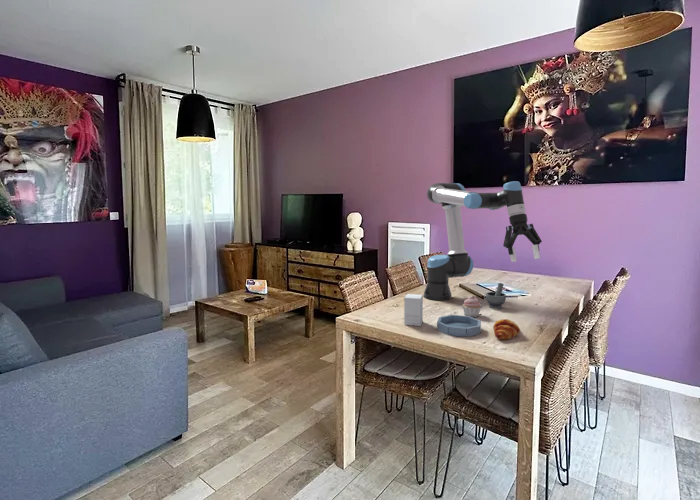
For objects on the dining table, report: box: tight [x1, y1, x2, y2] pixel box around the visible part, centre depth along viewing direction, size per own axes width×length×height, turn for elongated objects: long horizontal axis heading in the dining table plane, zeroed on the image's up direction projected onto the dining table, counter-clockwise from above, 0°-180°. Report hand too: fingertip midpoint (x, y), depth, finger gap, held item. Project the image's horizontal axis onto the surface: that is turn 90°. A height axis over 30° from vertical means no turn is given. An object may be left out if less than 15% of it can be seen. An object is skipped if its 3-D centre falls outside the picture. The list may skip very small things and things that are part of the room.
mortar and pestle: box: [485, 282, 507, 310], centre depth 203 cm, size 11×9×12 cm
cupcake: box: [461, 295, 483, 318], centre depth 189 cm, size 9×9×10 cm
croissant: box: [492, 318, 521, 340], centre depth 164 cm, size 21×10×8 cm, turn 146°
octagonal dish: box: [436, 314, 482, 338], centre depth 170 cm, size 18×18×4 cm
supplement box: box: [403, 293, 424, 327], centre depth 178 cm, size 7×7×13 cm
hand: (525, 260), depth 181 cm, fingers open, 13 cm apart
